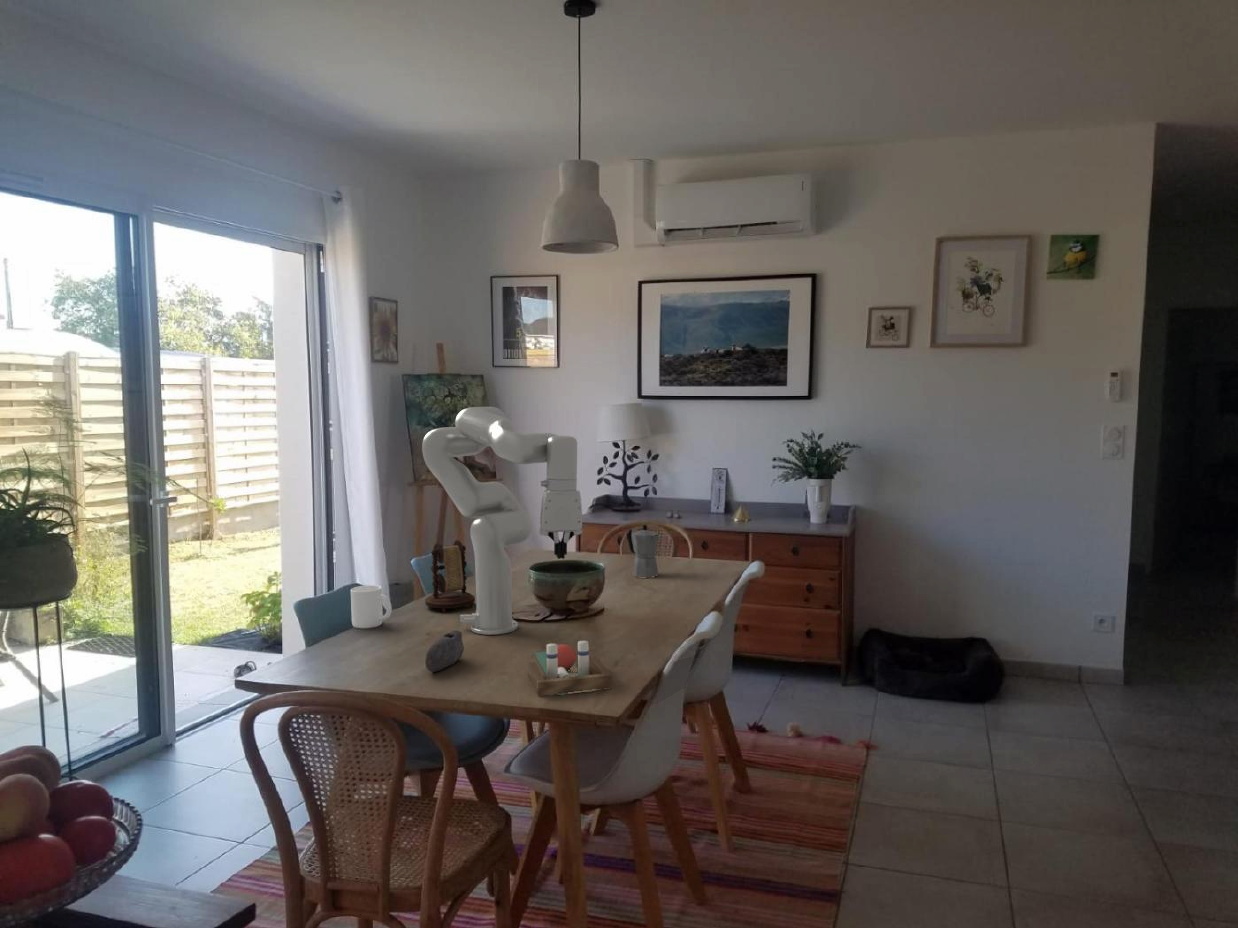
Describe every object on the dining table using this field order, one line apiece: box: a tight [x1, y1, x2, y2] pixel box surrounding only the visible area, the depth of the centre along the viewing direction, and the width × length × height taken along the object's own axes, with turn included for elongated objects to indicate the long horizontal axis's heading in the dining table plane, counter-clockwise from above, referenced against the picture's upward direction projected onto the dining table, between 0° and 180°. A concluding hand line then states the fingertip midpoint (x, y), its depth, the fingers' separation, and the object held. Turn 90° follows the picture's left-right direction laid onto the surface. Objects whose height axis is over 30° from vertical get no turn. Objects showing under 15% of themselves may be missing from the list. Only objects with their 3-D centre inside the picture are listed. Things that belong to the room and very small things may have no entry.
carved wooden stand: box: [424, 539, 476, 614], centre depth 250 cm, size 15×15×20 cm
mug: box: [350, 584, 392, 629], centre depth 231 cm, size 12×8×10 cm
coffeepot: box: [626, 524, 661, 577], centre depth 290 cm, size 15×9×18 cm, turn 44°
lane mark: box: [534, 651, 578, 696], centre depth 191 cm, size 30×8×1 cm, turn 15°
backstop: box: [527, 655, 613, 697], centre depth 184 cm, size 16×14×3 cm
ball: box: [557, 643, 577, 670], centre depth 191 cm, size 6×6×6 cm
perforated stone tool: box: [424, 630, 465, 673], centre depth 195 cm, size 15×5×7 cm, turn 161°
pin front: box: [558, 667, 570, 678], centre depth 182 cm, size 2×2×8 cm
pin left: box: [546, 643, 558, 679], centre depth 183 cm, size 2×2×8 cm
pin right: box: [577, 640, 590, 676], centre depth 185 cm, size 2×2×8 cm
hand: (560, 557), depth 209 cm, fingers closed
